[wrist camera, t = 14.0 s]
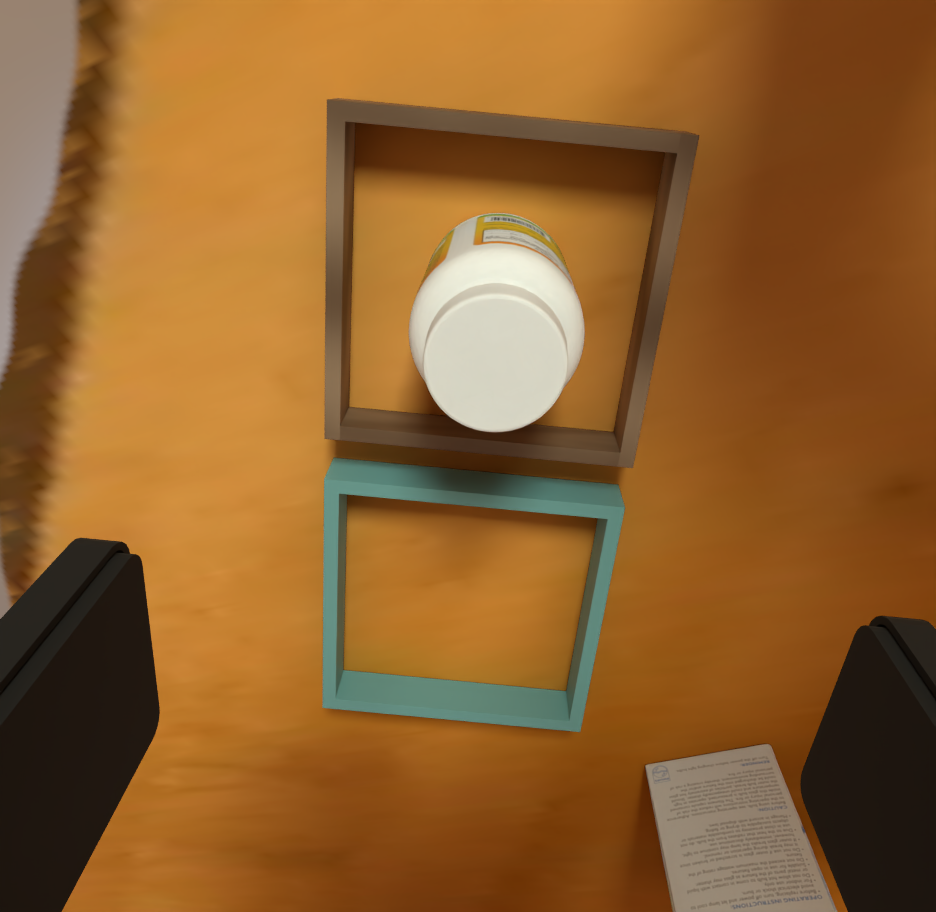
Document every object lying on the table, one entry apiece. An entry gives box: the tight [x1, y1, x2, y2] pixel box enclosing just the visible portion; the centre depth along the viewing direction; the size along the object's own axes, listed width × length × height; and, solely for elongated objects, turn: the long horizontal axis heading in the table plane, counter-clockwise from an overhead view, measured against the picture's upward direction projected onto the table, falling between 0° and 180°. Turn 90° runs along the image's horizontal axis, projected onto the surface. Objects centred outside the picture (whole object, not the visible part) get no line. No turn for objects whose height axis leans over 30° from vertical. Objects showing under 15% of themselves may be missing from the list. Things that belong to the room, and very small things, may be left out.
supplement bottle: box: [409, 213, 585, 432], centre depth 26 cm, size 5×5×10 cm
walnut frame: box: [325, 98, 699, 468], centre depth 29 cm, size 12×12×2 cm
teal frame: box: [323, 458, 625, 732], centre depth 35 cm, size 12×12×2 cm
